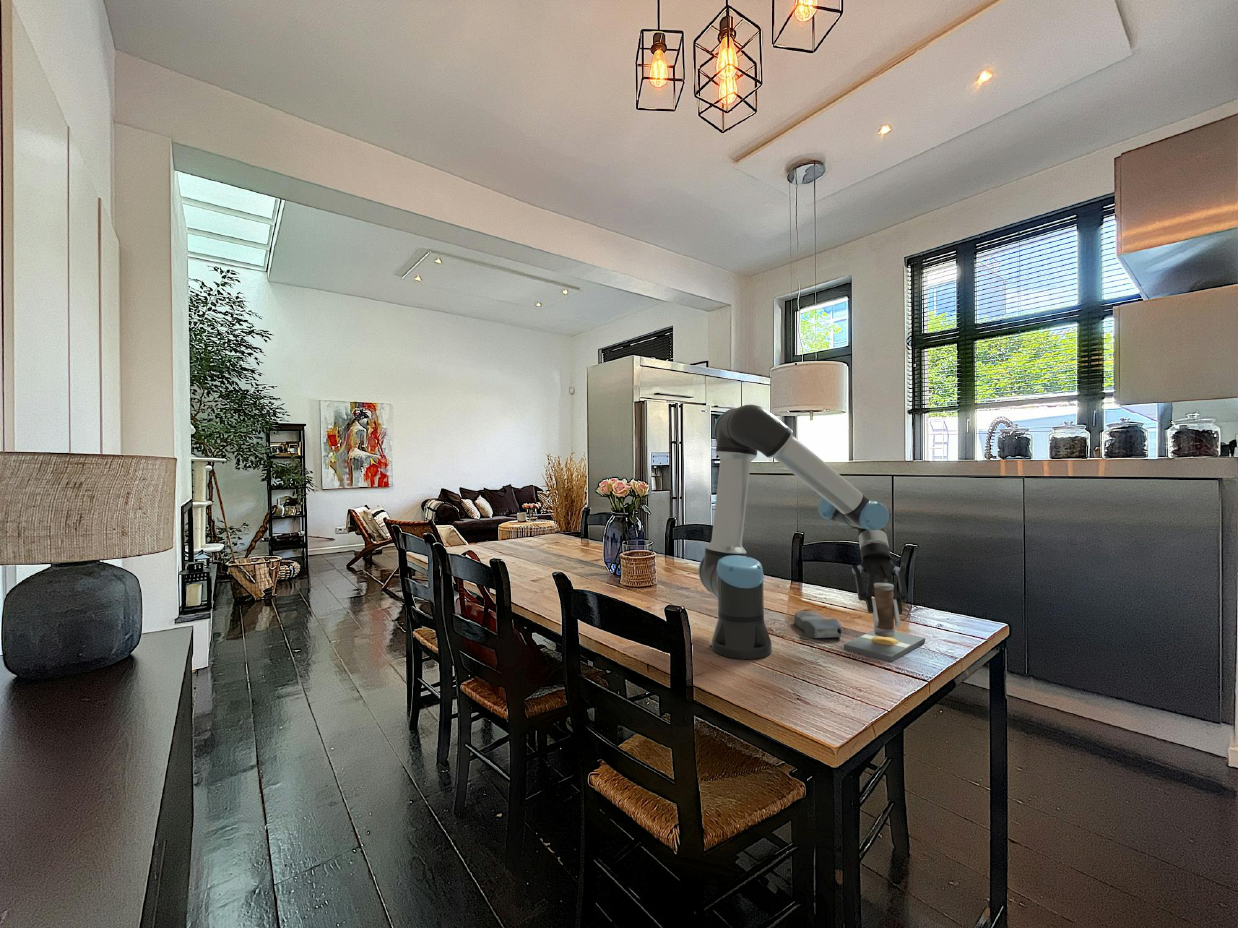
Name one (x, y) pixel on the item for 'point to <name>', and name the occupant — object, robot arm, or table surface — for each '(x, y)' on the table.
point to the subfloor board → (884, 645)
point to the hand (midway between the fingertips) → (887, 624)
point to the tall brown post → (884, 609)
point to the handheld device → (817, 625)
